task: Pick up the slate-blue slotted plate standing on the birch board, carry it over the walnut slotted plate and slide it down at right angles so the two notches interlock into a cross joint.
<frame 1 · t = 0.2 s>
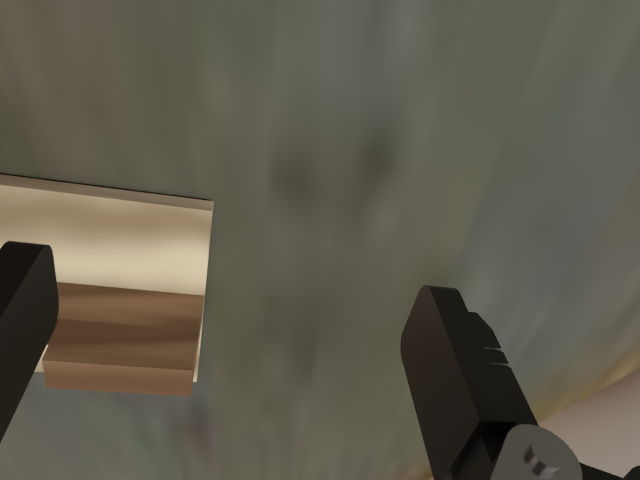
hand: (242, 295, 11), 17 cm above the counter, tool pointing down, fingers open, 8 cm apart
walnut slotted plate: (42, 294, 32), resting on birch board
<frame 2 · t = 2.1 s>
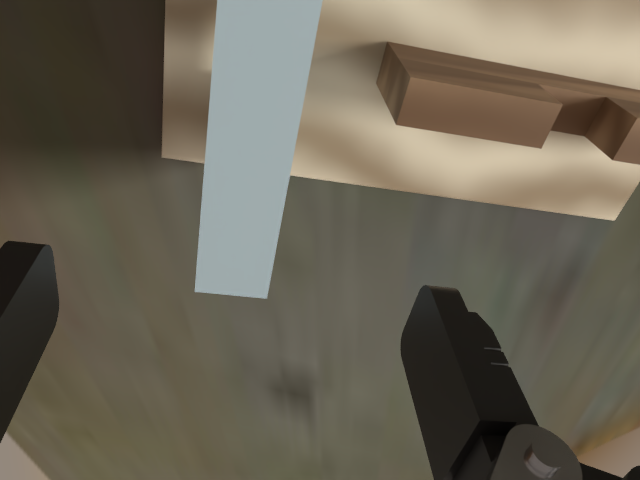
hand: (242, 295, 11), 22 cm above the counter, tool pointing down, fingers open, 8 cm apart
slotted cross plate: (259, 40, 28), point 1 cm above the counter, touching birch board
birch board: (442, 69, 31), on the counter
walnut slotted plate: (539, 91, 31), resting on birch board
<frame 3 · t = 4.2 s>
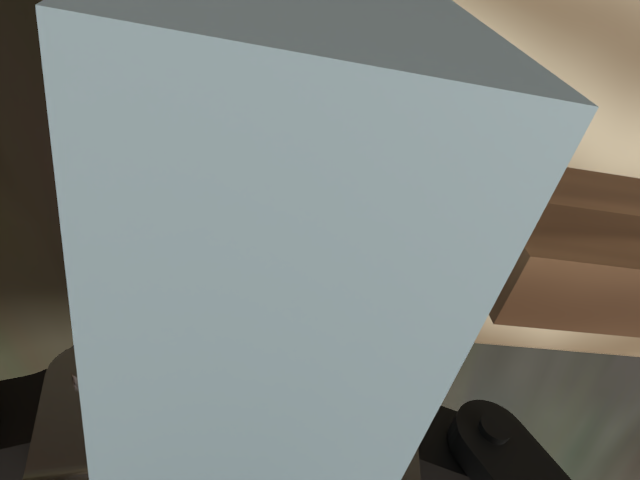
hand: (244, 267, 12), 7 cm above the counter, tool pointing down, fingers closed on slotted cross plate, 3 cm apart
slotted cross plate: (253, 152, 17), point 1 cm above the counter, touching gripper
birch board: (536, 181, 20), on the counter
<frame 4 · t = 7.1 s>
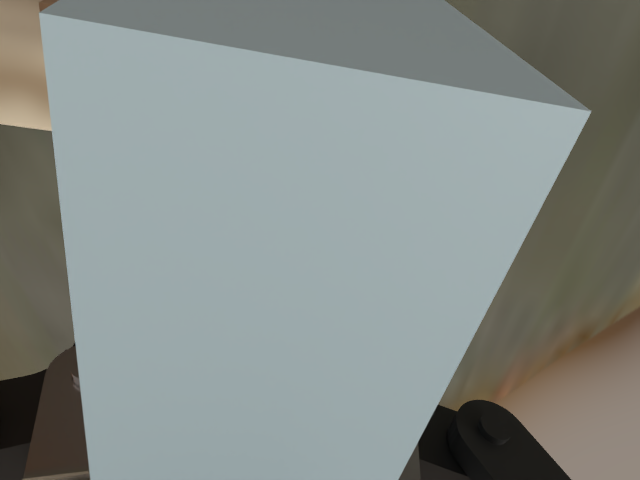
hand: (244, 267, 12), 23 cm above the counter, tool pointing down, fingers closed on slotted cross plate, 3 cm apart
slotted cross plate: (253, 153, 17), point 17 cm above the counter, touching gripper
birch board: (159, 12, 30), on the counter
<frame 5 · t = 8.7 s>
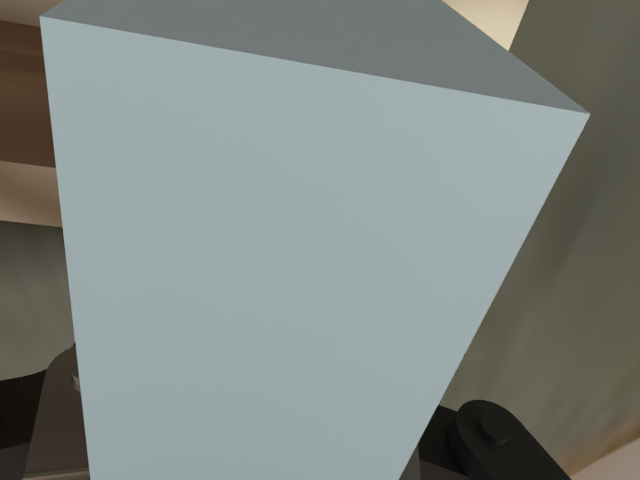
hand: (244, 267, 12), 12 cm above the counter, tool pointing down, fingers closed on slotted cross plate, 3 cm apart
slotted cross plate: (253, 153, 17), point 6 cm above the counter, touching gripper
birch board: (109, 61, 21), on the counter
walnut slotted plate: (254, 94, 21), resting on birch board
when the fingers open (9 cm above the counter, at t = 10.1 s): slotted cross plate drops 1 cm, resting on birch board.
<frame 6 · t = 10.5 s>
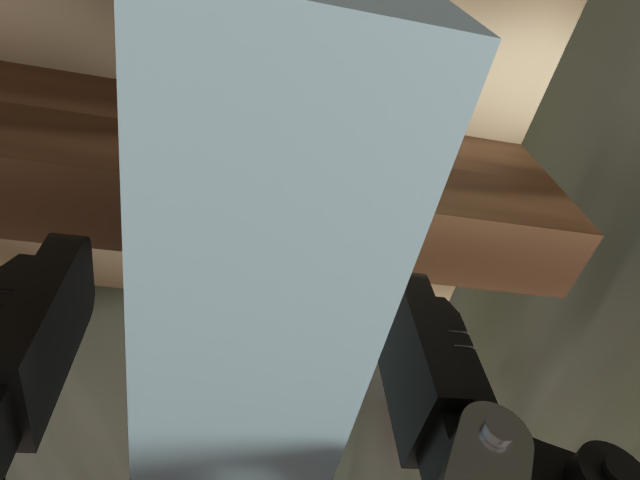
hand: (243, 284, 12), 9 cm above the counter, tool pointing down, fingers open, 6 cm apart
slotted cross plate: (254, 134, 18), point 1 cm above the counter, touching birch board
birch board: (84, 96, 18), on the counter
walnut slotted plate: (253, 133, 18), resting on birch board
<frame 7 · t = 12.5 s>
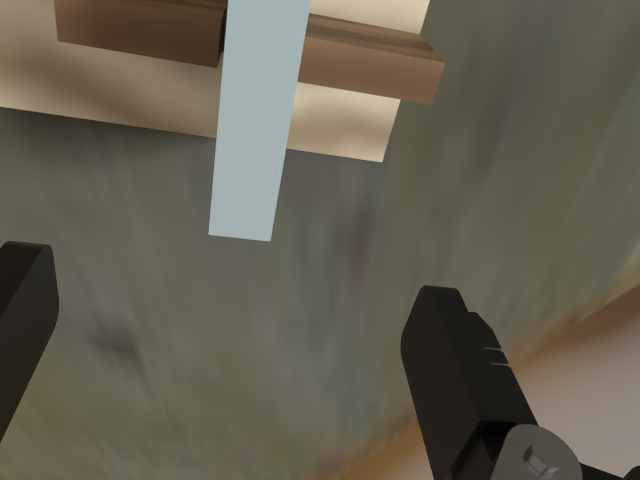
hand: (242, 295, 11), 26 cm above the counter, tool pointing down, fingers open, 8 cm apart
slotted cross plate: (261, 24, 32), point 1 cm above the counter, touching birch board
birch board: (163, 2, 31), on the counter
walnut slotted plate: (261, 24, 32), resting on birch board
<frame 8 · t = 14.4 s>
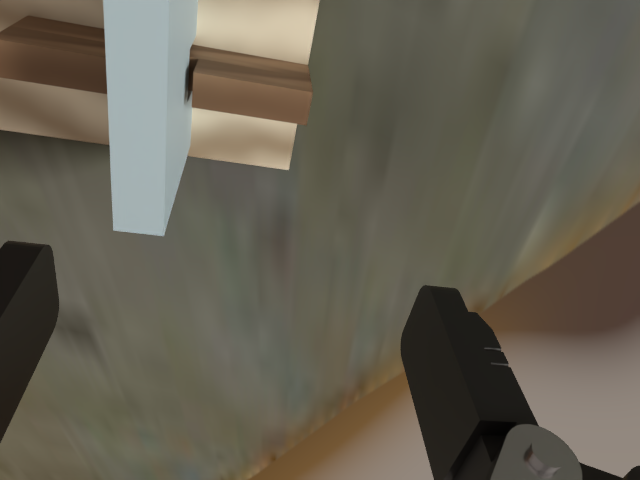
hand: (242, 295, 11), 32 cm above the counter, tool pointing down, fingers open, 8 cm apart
slotted cross plate: (174, 57, 38), point 1 cm above the counter, touching birch board
birch board: (93, 39, 38), on the counter
walnut slotted plate: (173, 57, 38), resting on birch board
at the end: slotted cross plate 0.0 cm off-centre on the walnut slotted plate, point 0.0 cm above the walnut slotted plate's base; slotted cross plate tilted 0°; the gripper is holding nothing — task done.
